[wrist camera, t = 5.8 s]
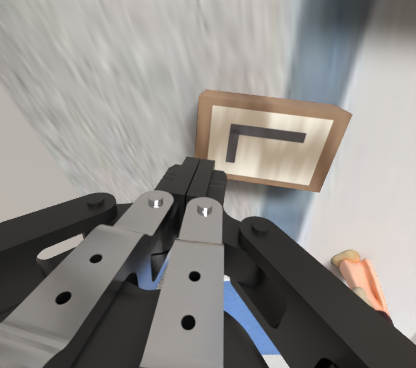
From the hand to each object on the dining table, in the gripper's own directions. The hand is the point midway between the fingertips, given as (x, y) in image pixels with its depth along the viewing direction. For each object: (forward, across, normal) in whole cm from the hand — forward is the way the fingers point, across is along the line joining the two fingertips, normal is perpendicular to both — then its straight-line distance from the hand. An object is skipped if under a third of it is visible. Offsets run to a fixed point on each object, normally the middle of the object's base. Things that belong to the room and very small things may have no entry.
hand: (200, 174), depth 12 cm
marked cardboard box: (+7, +1, 0) cm, 7 cm away
